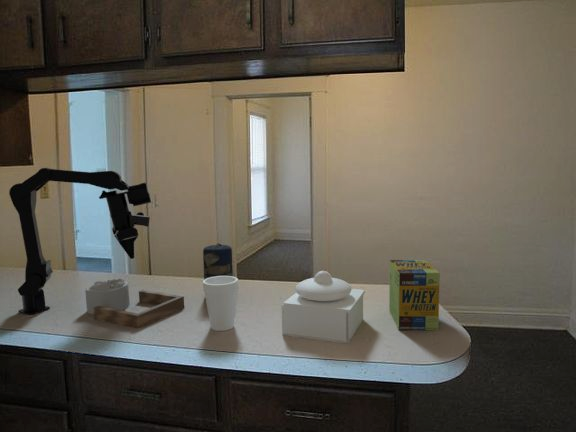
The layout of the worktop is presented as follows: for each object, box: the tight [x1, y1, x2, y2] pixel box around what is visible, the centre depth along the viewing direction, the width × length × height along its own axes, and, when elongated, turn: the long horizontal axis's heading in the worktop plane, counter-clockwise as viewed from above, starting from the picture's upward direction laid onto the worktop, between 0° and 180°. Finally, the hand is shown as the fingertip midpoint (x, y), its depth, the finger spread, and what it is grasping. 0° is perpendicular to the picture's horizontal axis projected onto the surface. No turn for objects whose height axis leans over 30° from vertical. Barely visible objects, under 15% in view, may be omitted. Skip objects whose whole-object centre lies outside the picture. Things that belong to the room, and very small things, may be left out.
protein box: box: [388, 259, 441, 331], centre depth 124 cm, size 10×15×16 cm
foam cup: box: [202, 275, 239, 332], centre depth 123 cm, size 10×9×13 cm
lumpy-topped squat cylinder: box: [84, 278, 130, 315], centre depth 141 cm, size 10×13×9 cm
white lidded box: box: [281, 270, 366, 344], centre depth 120 cm, size 18×18×16 cm
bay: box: [93, 289, 185, 329], centre depth 136 cm, size 18×19×4 cm
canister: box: [202, 243, 234, 280], centre depth 149 cm, size 10×10×18 cm
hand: (130, 256), depth 147 cm, fingers open, 9 cm apart
